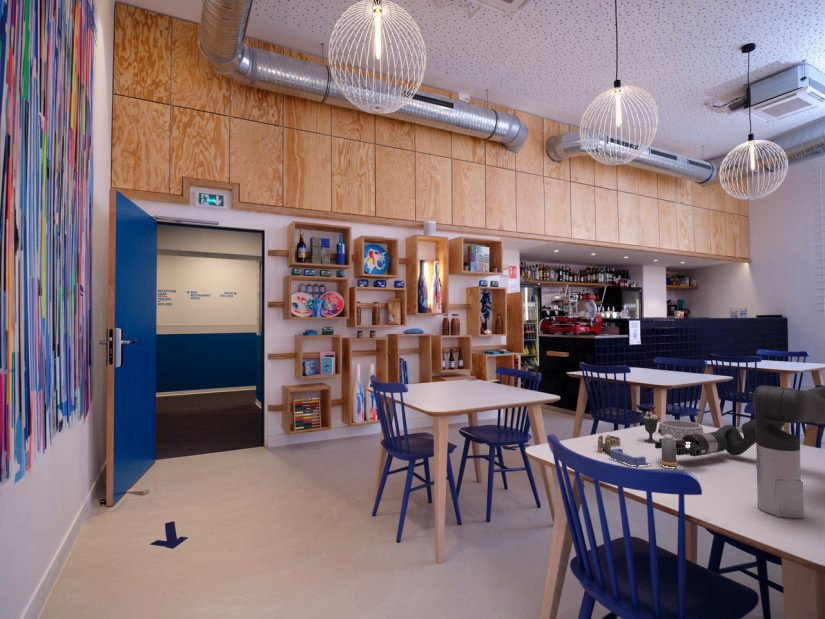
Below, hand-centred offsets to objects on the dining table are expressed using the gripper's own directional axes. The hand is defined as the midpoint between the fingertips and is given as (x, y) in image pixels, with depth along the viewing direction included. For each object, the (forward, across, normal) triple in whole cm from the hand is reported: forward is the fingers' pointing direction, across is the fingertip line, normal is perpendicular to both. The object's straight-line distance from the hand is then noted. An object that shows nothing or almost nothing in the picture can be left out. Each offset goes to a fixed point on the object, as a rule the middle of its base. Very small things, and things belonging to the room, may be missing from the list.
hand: (666, 448), depth 157 cm
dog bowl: (-44, +30, -7) cm, 54 cm away
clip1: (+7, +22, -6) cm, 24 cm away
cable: (+3, +23, -6) cm, 24 cm away
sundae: (-22, +26, -6) cm, 35 cm away
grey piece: (-1, 0, -6) cm, 6 cm away
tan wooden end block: (-3, +28, -6) cm, 29 cm away
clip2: (+3, +26, -6) cm, 27 cm away
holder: (+7, +9, -6) cm, 13 cm away
